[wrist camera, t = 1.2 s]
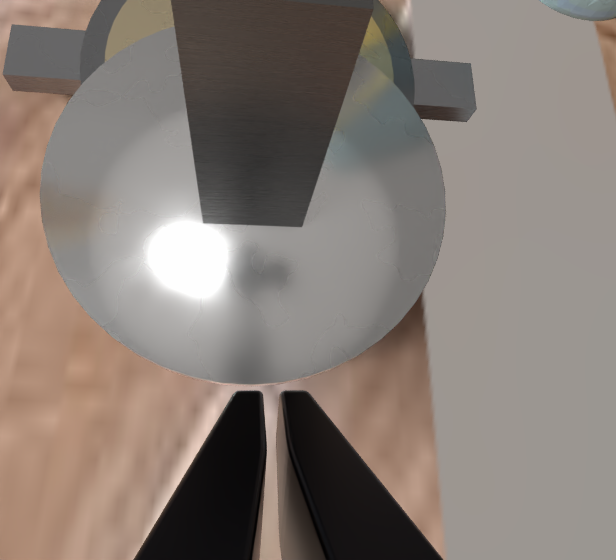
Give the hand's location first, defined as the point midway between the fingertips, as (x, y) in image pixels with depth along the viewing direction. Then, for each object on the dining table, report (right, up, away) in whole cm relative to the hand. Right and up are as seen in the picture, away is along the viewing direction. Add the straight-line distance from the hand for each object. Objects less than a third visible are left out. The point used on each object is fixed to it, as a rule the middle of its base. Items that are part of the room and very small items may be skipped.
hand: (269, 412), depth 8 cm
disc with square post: (-2, +5, +12) cm, 13 cm away
